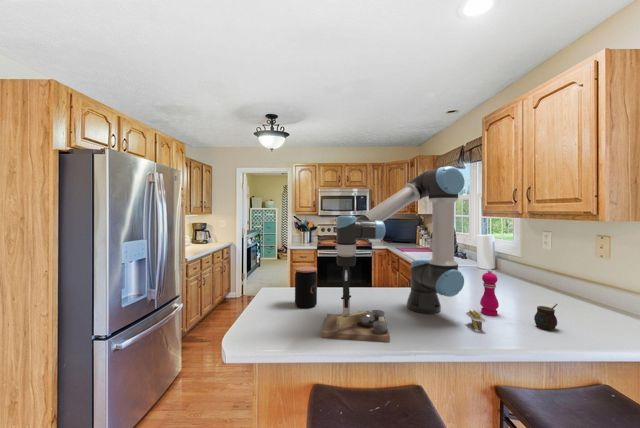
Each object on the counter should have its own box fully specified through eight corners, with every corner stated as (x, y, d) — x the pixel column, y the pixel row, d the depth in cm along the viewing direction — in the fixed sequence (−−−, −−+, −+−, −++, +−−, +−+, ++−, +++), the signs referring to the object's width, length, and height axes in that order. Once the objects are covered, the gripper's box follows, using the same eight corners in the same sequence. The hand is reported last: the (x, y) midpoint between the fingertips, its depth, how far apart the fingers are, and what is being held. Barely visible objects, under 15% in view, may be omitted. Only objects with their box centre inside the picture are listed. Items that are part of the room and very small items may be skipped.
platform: (469, 337, 105) (469, 319, 105) (450, 319, 123) (450, 304, 123) (503, 338, 105) (503, 320, 104) (478, 320, 122) (478, 304, 122)
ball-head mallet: (367, 319, 116) (367, 307, 116) (378, 325, 110) (379, 312, 109) (332, 327, 107) (332, 314, 107) (343, 334, 101) (343, 320, 101)
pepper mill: (478, 313, 129) (478, 269, 129) (482, 309, 135) (482, 267, 134) (496, 317, 124) (497, 271, 124) (500, 313, 130) (500, 269, 130)
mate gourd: (529, 324, 117) (529, 299, 117) (548, 324, 117) (548, 300, 117) (542, 331, 110) (543, 305, 110) (562, 332, 110) (563, 306, 110)
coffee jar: (314, 309, 133) (314, 271, 133) (292, 308, 135) (292, 270, 135) (318, 302, 143) (319, 266, 143) (298, 301, 145) (298, 265, 145)
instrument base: (384, 321, 119) (384, 309, 119) (389, 342, 100) (389, 327, 100) (327, 318, 122) (327, 306, 122) (321, 337, 103) (321, 323, 103)
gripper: (337, 252, 119) (337, 309, 119) (335, 257, 106) (335, 320, 106) (355, 252, 118) (355, 309, 119) (356, 257, 105) (356, 321, 106)
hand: (346, 314), depth 112 cm, fingers closed
